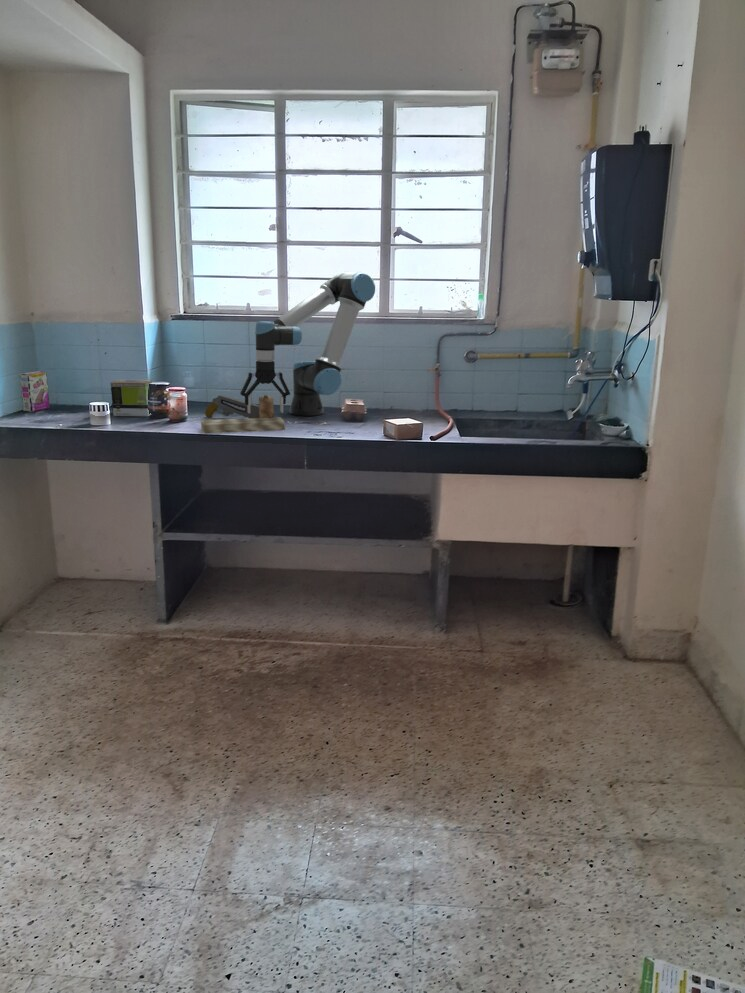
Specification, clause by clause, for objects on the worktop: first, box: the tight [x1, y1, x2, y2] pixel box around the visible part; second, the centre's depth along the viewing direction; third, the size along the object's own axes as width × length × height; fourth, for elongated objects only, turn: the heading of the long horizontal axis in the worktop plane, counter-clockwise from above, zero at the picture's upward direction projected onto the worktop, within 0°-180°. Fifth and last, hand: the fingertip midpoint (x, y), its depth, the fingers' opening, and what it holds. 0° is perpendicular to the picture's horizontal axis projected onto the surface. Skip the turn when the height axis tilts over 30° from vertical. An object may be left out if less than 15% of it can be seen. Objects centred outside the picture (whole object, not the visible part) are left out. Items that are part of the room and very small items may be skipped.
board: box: [200, 416, 286, 435], centre depth 292 cm, size 32×9×4 cm, turn 108°
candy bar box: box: [19, 370, 50, 413], centre depth 318 cm, size 11×5×16 cm, turn 162°
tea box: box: [110, 379, 153, 418], centre depth 314 cm, size 15×10×15 cm
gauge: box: [258, 394, 275, 418], centre depth 299 cm, size 5×12×12 cm, turn 18°
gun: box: [204, 394, 259, 419], centre depth 312 cm, size 3×25×15 cm, turn 81°
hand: (265, 412), depth 302 cm, fingers open, 13 cm apart
